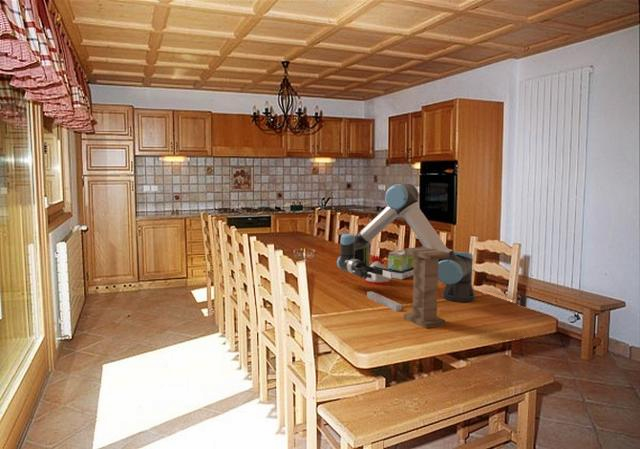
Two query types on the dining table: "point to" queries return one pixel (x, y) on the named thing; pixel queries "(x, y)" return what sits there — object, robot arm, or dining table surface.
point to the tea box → (400, 264)
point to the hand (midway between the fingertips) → (383, 276)
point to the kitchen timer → (380, 278)
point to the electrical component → (363, 255)
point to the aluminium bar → (384, 301)
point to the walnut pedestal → (425, 286)
